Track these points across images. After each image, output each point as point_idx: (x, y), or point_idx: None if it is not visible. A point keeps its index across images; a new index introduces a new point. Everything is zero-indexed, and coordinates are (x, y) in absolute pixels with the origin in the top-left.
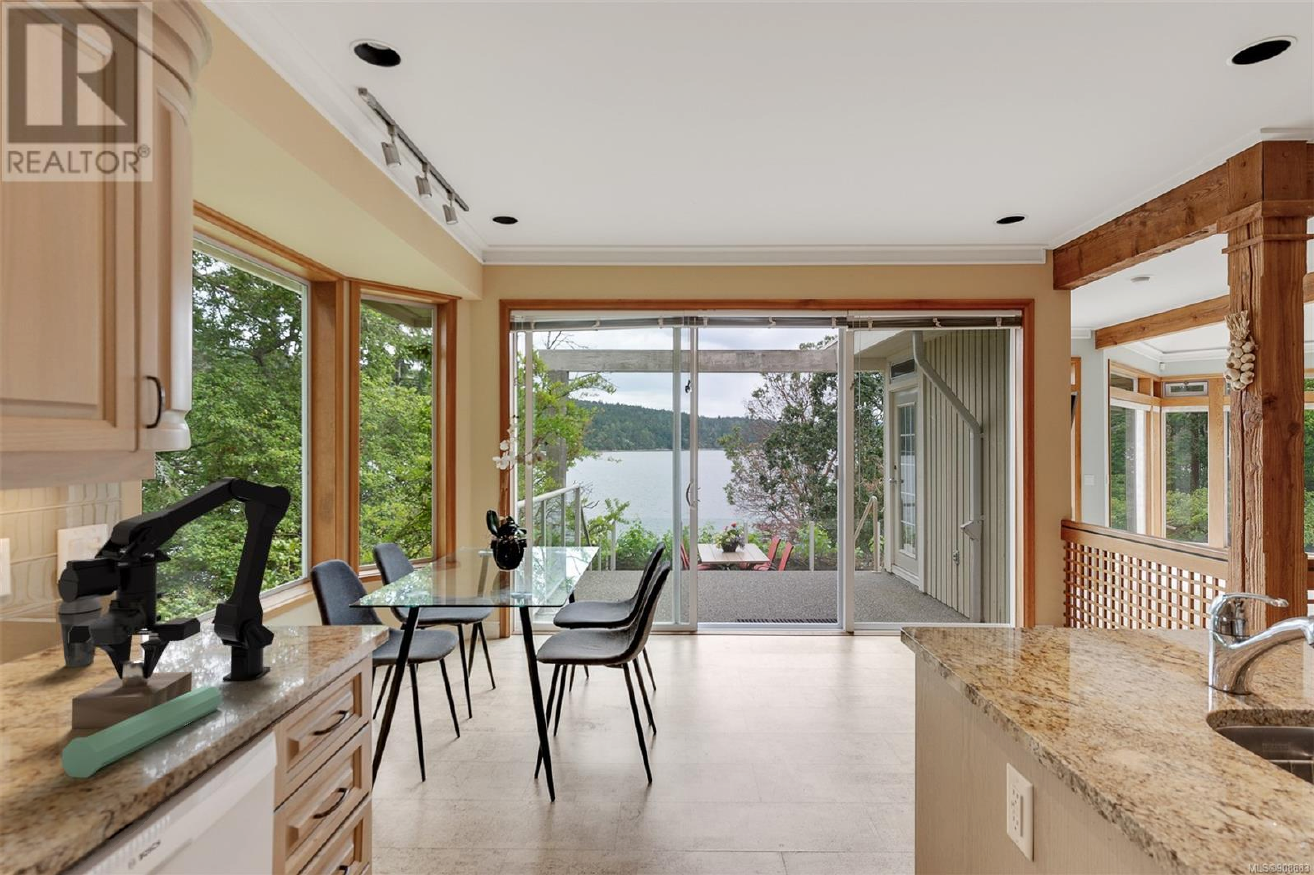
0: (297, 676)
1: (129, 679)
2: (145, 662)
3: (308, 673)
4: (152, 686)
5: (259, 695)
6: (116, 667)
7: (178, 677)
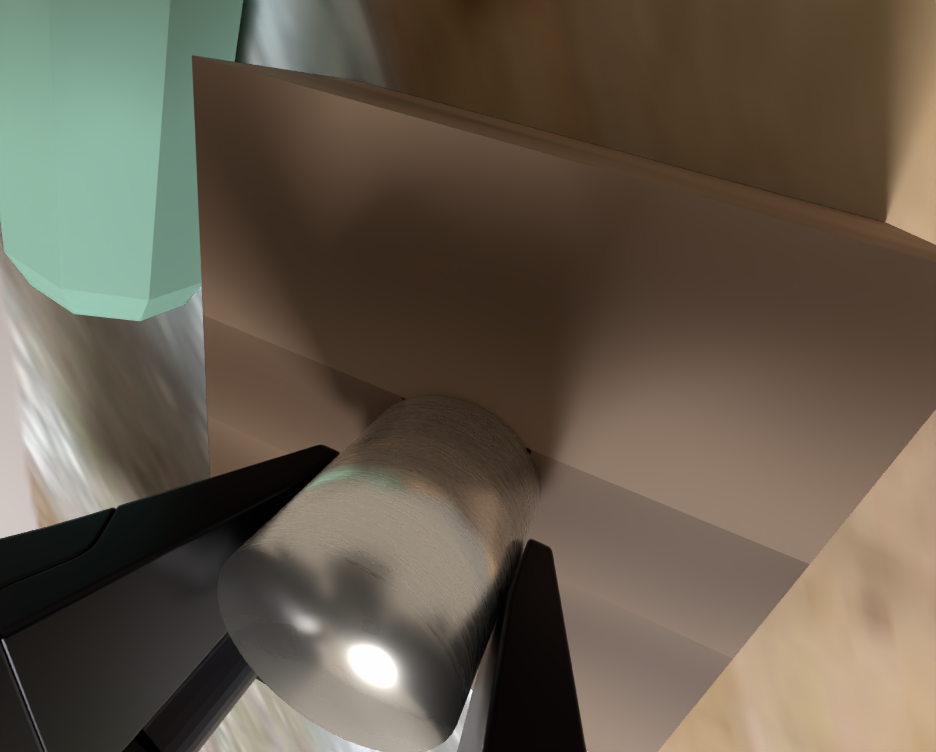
0: (70, 503)
1: (426, 440)
2: (172, 524)
3: (54, 513)
4: (296, 352)
5: (78, 356)
6: (549, 661)
7: None
